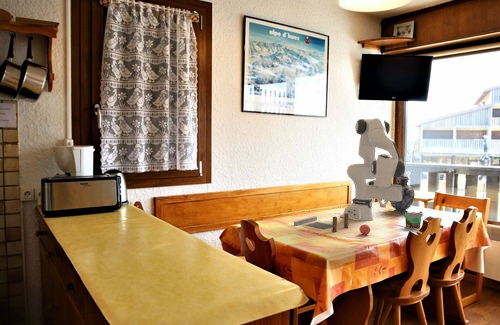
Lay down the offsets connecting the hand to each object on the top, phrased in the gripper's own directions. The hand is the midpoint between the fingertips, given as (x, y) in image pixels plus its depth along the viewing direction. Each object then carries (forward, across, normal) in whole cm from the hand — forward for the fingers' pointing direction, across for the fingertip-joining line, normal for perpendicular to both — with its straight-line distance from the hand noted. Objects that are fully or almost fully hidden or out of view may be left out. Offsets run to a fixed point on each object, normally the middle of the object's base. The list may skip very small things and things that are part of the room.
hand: (382, 207), depth 213 cm
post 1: (+18, +26, +7) cm, 32 cm away
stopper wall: (+17, +52, 0) cm, 55 cm away
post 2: (+18, +26, -8) cm, 32 cm away
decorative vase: (+17, +21, -86) cm, 90 cm away
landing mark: (+17, +40, 0) cm, 44 cm away
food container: (+18, -5, -41) cm, 45 cm away
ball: (+15, +10, 0) cm, 18 cm away
